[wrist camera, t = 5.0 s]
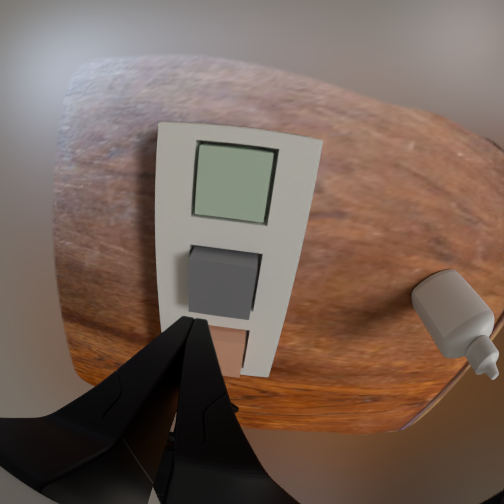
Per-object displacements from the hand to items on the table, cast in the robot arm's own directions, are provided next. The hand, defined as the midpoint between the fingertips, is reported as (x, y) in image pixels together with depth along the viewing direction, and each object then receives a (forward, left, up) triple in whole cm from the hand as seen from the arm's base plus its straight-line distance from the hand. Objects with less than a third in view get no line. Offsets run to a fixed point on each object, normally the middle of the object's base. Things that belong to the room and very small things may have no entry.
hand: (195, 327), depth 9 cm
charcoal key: (-3, -3, -11) cm, 11 cm away
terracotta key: (-8, -8, -11) cm, 16 cm away
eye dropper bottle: (+11, -17, -13) cm, 24 cm away
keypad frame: (-3, -3, -13) cm, 13 cm away
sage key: (+2, +2, -12) cm, 12 cm away
